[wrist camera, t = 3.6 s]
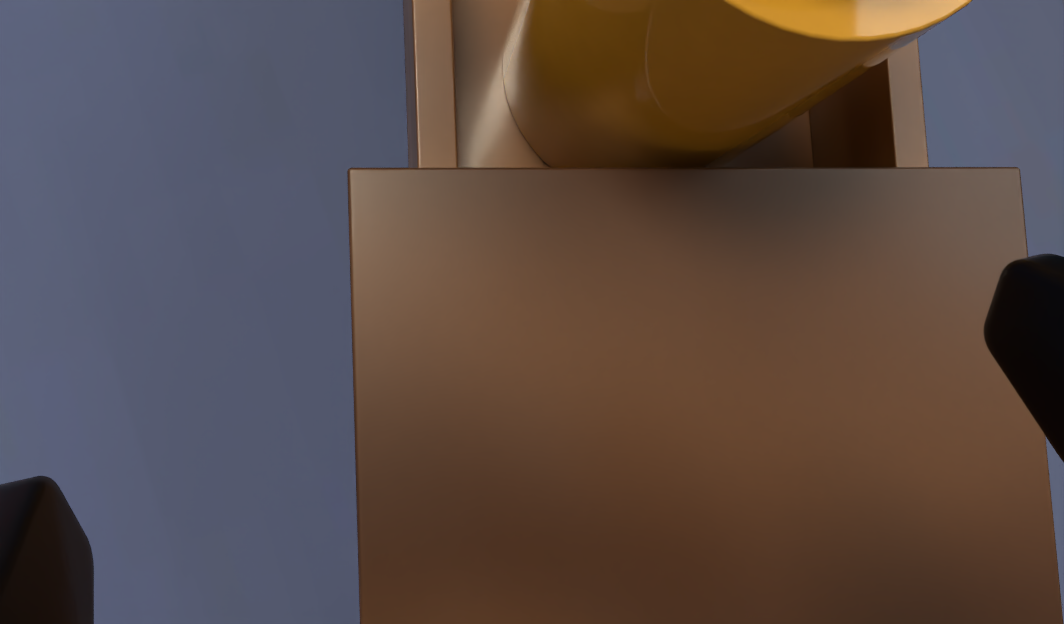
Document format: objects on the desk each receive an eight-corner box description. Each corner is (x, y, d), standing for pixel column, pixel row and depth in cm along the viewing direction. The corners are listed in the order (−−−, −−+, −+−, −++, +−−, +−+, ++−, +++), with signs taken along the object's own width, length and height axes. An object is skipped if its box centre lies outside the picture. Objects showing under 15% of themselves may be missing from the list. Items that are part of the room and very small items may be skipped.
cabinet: (357, 233, 22) (347, 166, 15) (850, 226, 24) (1021, 165, 18) (375, 880, 21) (373, 1104, 14) (895, 806, 23) (1098, 968, 16)
